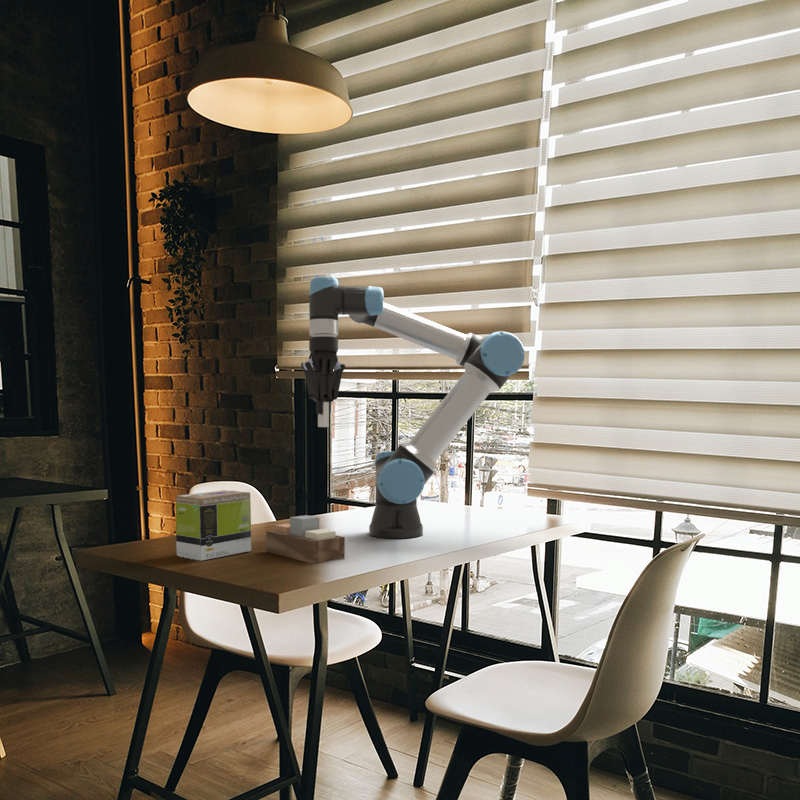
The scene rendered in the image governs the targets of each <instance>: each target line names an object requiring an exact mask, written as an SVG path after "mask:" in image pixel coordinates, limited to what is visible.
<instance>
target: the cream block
mask: <svg viewBox="0 0 800 800" xmlns="http://www.w3.org/2000/svg"><path fill="white" fill-rule="evenodd" d="M335 535H336V531H335V530H330V529H324V528H319V529H318V530H310V531H305V538H309V539H313V540H324V539H331V538H335Z"/></svg>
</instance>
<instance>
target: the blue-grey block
mask: <svg viewBox="0 0 800 800" xmlns="http://www.w3.org/2000/svg"><path fill="white" fill-rule="evenodd" d="M289 523H290V535H295V536H300V537H305V531H310V530H318V529H320V516H314V515H313V516H312V515H308V514H307V515H306V514H305V515H298V516H290V517H289Z"/></svg>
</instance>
